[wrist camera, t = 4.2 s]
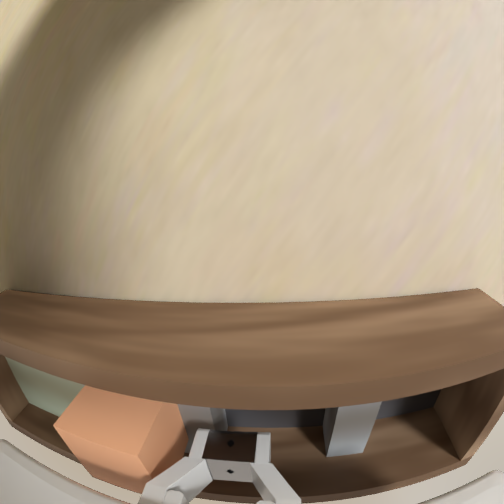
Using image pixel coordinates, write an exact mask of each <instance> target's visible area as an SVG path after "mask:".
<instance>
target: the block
mask: <svg viewBox="0 0 504 504" xmlns="http://www.w3.org/2000/svg"><path fill="white" fill-rule="evenodd" d="M53 426H54V428H55V429H56V430H57V432H58V433H59V435H60V436H61V438H62V439H63V440H64V442H65V443H66V445H67V446H68V447H69V449H70V450H71V451H72V452H73V454H74V455H75V456H76V458H77V459H78V460H79V461H80V463H81V464H82V465H83V466H84V467H85V469H86V470H87V471H88V472H89V473H90V474H91V475H92V477H95V478H97V479H99V480H102V481H105V482H107V483H110V484H113V485H115V486H118V487H121V488H124V489H127V490H130V491H134V492H137V493H140V494H142V492H143V490H144V488H145V485H146V483H147V482H149V481H150V480H152V479H153V478H155V477H156V476H158V475H159V474H161V473H162V472H164V471H165V470H167V469H168V468H170V467H171V466H172V465H174V464H175V463H177V462H178V461H179V460H181V459H182V458H183V455H184V452H185V449H186V446H187V443H188V440H189V438H188V435H187V432H186V429H185V426H184V423H183V420H182V417H181V414H180V411H179V408H178V405H177V404H174V403H167V402H160V401H154V400H148V399H143V398H137V397H132V396H127V395H123V394H118V393H114V392H110V391H105V390H101V389H97V388H94V387H90V386H86V385H85V386H84V387H83V388H82V390H81V391H80V392H79V393H78V394H77V396H76V397H75V398H74V399H73V401H72V402H71V403H70V404H69V406H68V407H67V408H66V409H65V411H64V412H63V413H62V414H61V416H60V417H59V418H58V420H57V421H56V422H55V423H54V425H53Z"/></svg>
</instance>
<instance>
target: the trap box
mask: <svg viewBox="0 0 504 504" xmlns="http://www.w3.org/2000/svg"><path fill="white" fill-rule="evenodd" d="M85 385H86V386H90V387H94V388H97V389H101V390H105V391H110V392H114V393H118V394H123V395H127V396H132V397H137V398H143V399H148V400H154V401H160V402H167V403H174V404H177V405H178V408H179V411H180V414H181V417H182V420H183V423H184V426H185V429H186V432H187V435H188V438H189V440H188V443H187V446H186V449H185V452H184V455H183V458H184V457H185V456H186V457H188V456H189V453H190V450H191V447H192V444H193V440H194V437H195V434H196V431H197V430H198V428H202V429H211V430H221V431H232V432H234V431H242V432H270V433H271V463H272V464H273V465H274V466H275V468H276V469H277V470H278V471H279V473H280V474H281V475H282V477H283V478H284V479H285V480H286V482H287V483H288V484H289V485H290V487H291V488H292V489H293V490H294V491H295V493H296V494H297V495H298V496H299V497H300V499H301V503H315V502H325V501H334V500H342V499H349V498H355V497H361V496H366V495H372V494H376V493H380V492H385V491H389V490H393V489H397V488H401V487H405V486H408V485H412V484H415V483H418V482H421V481H424V480H427V479H430V478H433V477H436V476H438V475H441V474H444V473H447V472H449V471H451V470H454V469H456V468H459V467H461V466H463V465H465V464H467V462H468V461H469V460H470V459H471V458H472V456H473V455H474V454H475V452H476V451H477V449H479V447H480V446H481V445H482V443H483V442H484V440H485V439H486V438H487V436H488V435H489V433H490V432H491V430H492V429H493V427H494V426H495V424H496V423H497V421H498V420H499V418H500V417H501V415H502V413H503V412H504V306H502V305H501V304H500V303H498V302H497V301H495V300H494V299H493V298H491V297H490V296H489V295H487V294H486V293H484V292H483V291H481V290H480V289H479V288H477V289H469V290H460V291H452V292H443V293H433V294H423V295H412V296H400V297H387V298H373V299H357V300H339V301H316V302H283V303H189V302H156V301H133V300H115V299H100V298H86V297H73V296H62V295H51V294H41V293H32V292H23V291H15V290H5V291H3V292H2V293H0V410H1V411H2V413H3V414H4V416H5V417H6V419H7V420H8V422H9V423H10V424H11V426H12V427H14V428H15V429H17V430H18V431H20V432H21V433H23V434H25V435H26V436H28V437H30V438H31V439H33V440H35V441H37V442H38V443H40V444H42V445H44V446H46V447H47V448H49V449H51V450H53V451H55V452H57V453H59V454H61V455H63V456H65V457H67V458H70V459H71V460H74V461H76V462H78V463H80V461H79V460H78V459H77V458H76V456H75V455H74V454H73V452H72V451H71V450H70V449H69V447H68V446H67V445H66V443H65V442H64V440H63V439H62V438H61V436H60V435H59V433H58V432H57V430H56V429H55V428H54V426H53V425H54V423H55V422H56V421H57V420H58V418H59V417H60V416H61V414H62V413H63V412H64V411H65V409H66V408H67V407H68V406H69V404H70V403H71V402H72V401H73V399H74V398H75V397H76V396H77V394H78V393H79V392H80V391H81V390H82V388H83V387H84V386H85ZM80 464H81V463H80ZM212 480H213V481H212V482H210V483H209V484H208V485H207V486H206V487H205V488H204V489H203V490H202V491H201V492H200V493H199V494H198V495H197V496H196V497H195V498H202V499H209V500H216V501H225V502H236V503H237V502H238V503H253V504H256V503H257V502H259V501H264V500H263V498H262V497H261V495H260V494H259V492H258V490H257V489H256V487H255V486H254V484H253V482H241V481H229V480H216V479H212Z"/></svg>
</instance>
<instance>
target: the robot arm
mask: <svg viewBox="0 0 504 504" xmlns="http://www.w3.org/2000/svg"><path fill="white" fill-rule="evenodd" d="M212 479H216V480H229V481H241V482H253V484H254V486H255V487H256V489H257V490H258V492H259V494H260V495H261V497H262V498H263V500H264V501H259V502H257V503H256V504H301V499H300V497H299V496H298V495H297V494H296V493H295V491H294V490H293V489H292V488H291V487H290V485H289V484H288V483H287V482H286V480H285V479H284V478H283V477H282V475H281V474H280V473H279V471H278V470H277V469H276V468H275V466H274V465H273V464H272V463H271V433H270V432H242V431H234V432H232V431H221V430H211V429H202V428H198V430H197V431H196V434H195V437H194V440H193V444H192V447H191V450H190V453H189V456H188V457H186V456H185V457H184V458H182V459H181V460H179V461H178V462H177V463H175V464H174V465H172V466H171V467H170V468H168V469H167V470H165V471H164V472H162V473H161V474H159V475H158V476H156V477H155V478H153V479H152V480H150V481H149V482H147V483H146V485H145V488H144V490H143V492H142V495H141V497H140V500H139V502H138V504H189V502H190V501H191V500H192V499H193V498H195V497H196V496H197V495H198V494H199V493H200V492H201V491H202V490H203V489H204V488H205V487H206V486H207V485H208V484H209V483H210V482H212V481H213V480H212ZM0 504H130V503H127V502H124V501H121V500H118V499H115V498H113V497H110V496H107V495H105V494H102V493H100V492H98V491H95V490H92V489H90V488H88V487H86V486H84V485H81V484H79V483H77V482H75V481H73V480H71V479H69V478H67V477H65V476H63V475H61V474H59V473H57V472H56V471H54V470H52V469H50V468H48V467H47V466H45V465H43V464H41V463H39V462H38V461H36V460H35V459H33V458H31V457H30V456H28V455H27V454H25V453H24V452H22V451H21V450H19V449H17V448H16V447H15V446H13V445H12V444H10V443H9V442H8V441H6V440H3V439H1V440H0ZM418 504H504V472H501V471H498V470H494V471H491V472H489V473H487V474H485V475H483V476H481V477H480V478H478V479H476V480H474V481H472V482H470V483H468V484H465V485H463V486H461V487H459V488H457V489H455V490H452V491H450V492H447V493H445V494H443V495H440V496H438V497H435V498H432V499H430V500H427V501H424V502H421V503H418Z"/></svg>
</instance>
